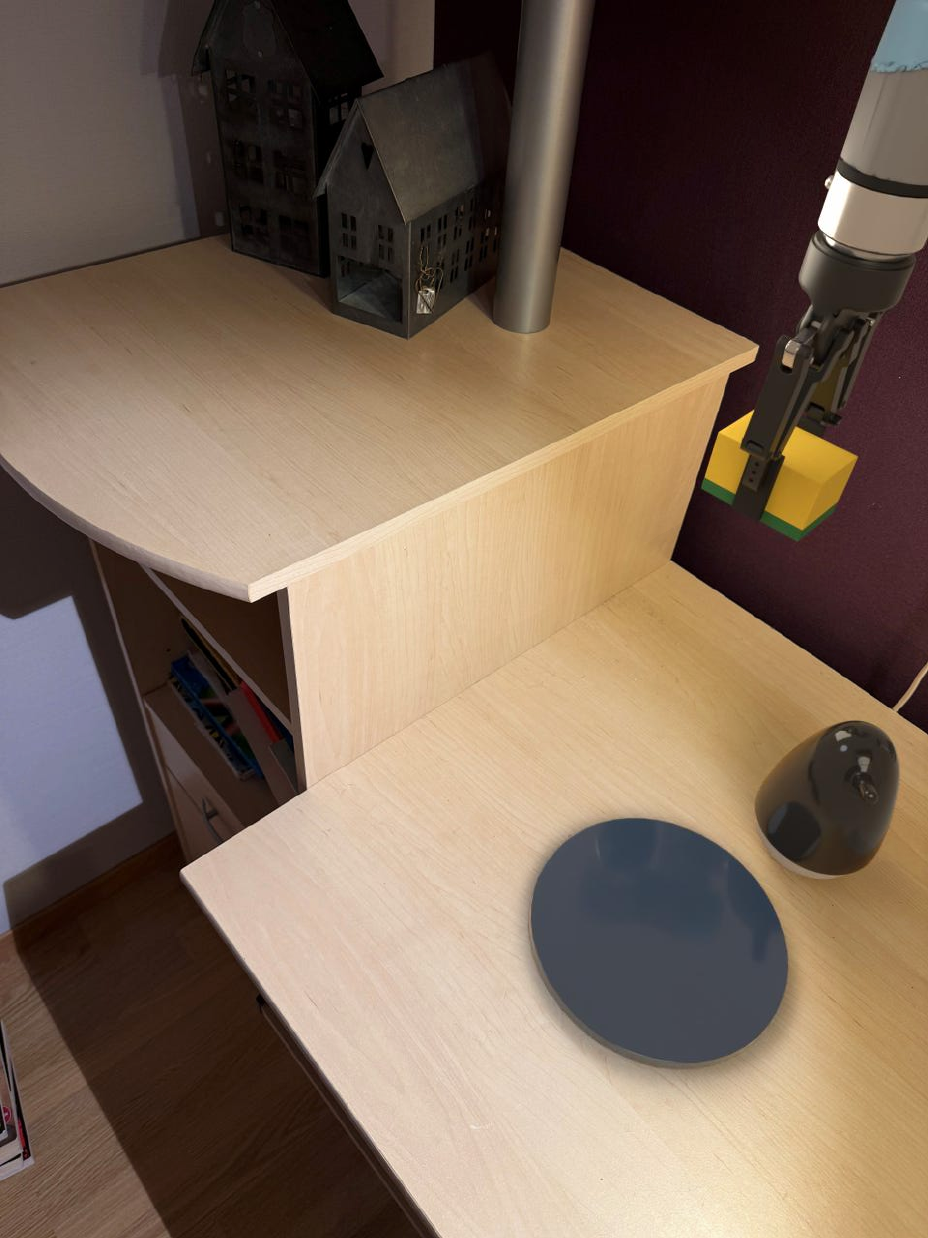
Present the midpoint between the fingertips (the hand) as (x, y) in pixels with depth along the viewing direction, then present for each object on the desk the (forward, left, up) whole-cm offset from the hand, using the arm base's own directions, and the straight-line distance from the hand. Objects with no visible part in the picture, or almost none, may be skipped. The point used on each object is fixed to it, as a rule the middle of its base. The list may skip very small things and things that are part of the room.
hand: (766, 497), depth 82 cm
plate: (+10, +33, -19) cm, 39 cm away
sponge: (0, 0, 0) cm, 0 cm away
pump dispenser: (-4, +24, -19) cm, 31 cm away
